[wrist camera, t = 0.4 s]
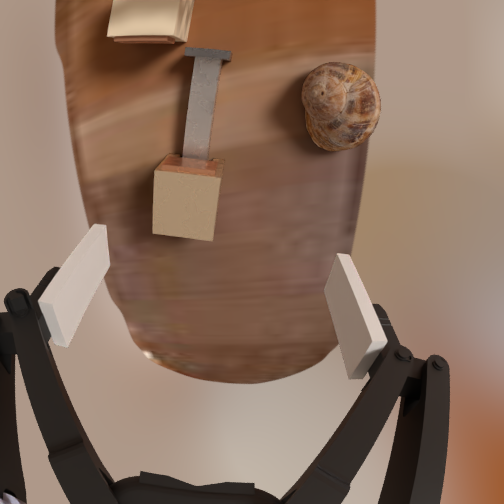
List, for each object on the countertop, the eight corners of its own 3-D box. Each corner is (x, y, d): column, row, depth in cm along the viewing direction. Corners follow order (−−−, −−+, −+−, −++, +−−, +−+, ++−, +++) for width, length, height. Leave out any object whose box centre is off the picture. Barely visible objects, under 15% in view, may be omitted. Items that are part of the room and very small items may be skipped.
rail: (182, 49, 31) (167, 44, 25) (242, 54, 32) (241, 50, 26) (165, 213, 43) (152, 240, 37) (216, 220, 44) (211, 248, 38)
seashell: (272, 118, 36) (310, 88, 26) (302, 71, 37) (341, 37, 27) (337, 165, 39) (387, 152, 30) (360, 116, 40) (407, 96, 30)
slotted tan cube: (140, -13, 26) (119, -28, 20) (197, -14, 27) (187, -31, 20) (129, 45, 30) (106, 41, 24) (185, 46, 31) (172, 40, 25)
